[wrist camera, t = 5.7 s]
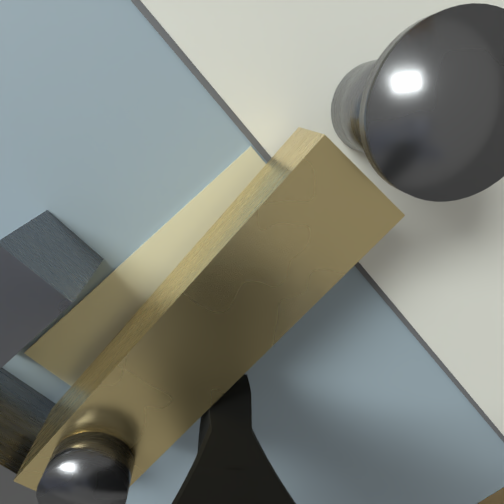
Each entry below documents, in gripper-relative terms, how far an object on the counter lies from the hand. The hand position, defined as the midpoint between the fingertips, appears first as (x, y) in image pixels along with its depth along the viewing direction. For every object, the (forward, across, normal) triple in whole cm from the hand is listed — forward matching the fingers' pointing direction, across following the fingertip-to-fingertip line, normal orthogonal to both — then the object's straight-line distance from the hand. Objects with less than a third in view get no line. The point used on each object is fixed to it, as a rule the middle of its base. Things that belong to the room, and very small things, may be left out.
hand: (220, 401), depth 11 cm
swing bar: (0, +1, -3) cm, 3 cm away
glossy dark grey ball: (+2, -3, -8) cm, 9 cm away
